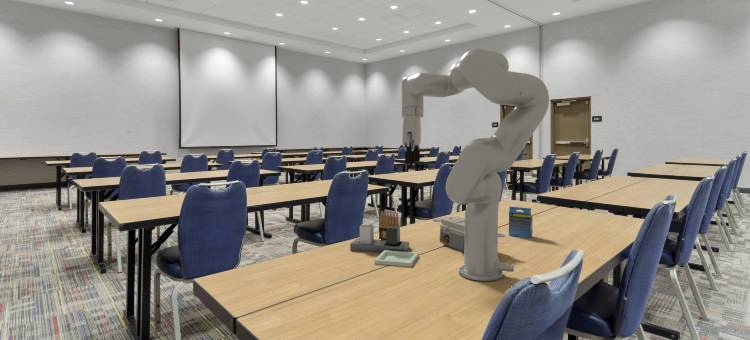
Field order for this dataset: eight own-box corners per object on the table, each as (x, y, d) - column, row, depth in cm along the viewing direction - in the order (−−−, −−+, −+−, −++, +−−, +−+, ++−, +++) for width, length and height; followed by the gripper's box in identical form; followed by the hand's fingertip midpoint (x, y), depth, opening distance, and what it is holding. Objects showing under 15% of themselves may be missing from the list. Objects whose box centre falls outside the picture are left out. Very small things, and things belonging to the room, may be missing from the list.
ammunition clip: (400, 243, 158) (400, 213, 157) (397, 244, 156) (396, 213, 156) (382, 238, 166) (382, 209, 165) (378, 239, 165) (378, 210, 164)
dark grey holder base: (413, 245, 155) (412, 221, 155) (404, 255, 141) (404, 230, 140) (363, 241, 161) (363, 219, 160) (350, 251, 147) (349, 227, 146)
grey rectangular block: (373, 248, 150) (373, 223, 150) (370, 251, 147) (370, 225, 146) (363, 248, 152) (363, 222, 151) (359, 251, 148) (359, 224, 147)
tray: (418, 257, 139) (418, 252, 138) (411, 268, 127) (411, 262, 127) (384, 255, 142) (384, 250, 142) (374, 265, 131) (374, 260, 130)
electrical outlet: (448, 237, 165) (450, 213, 164) (507, 258, 142) (509, 230, 141) (427, 241, 158) (428, 216, 157) (485, 264, 135) (487, 235, 134)
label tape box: (532, 236, 167) (533, 206, 166) (530, 238, 164) (531, 208, 163) (510, 233, 172) (511, 205, 171) (508, 235, 168) (508, 206, 167)
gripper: (407, 114, 151) (407, 160, 152) (396, 111, 134) (396, 163, 135) (427, 114, 149) (427, 160, 150) (418, 111, 132) (418, 163, 133)
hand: (412, 162), depth 143 cm, fingers open, 9 cm apart
